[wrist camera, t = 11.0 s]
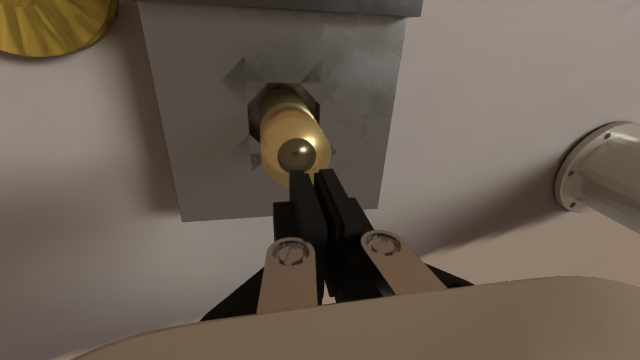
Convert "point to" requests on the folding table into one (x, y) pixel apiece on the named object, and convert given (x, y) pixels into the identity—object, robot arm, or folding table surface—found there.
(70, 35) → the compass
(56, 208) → the folding table surface
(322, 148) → the brass cylinder
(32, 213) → the folding table surface
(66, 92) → the folding table surface
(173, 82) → the jig
